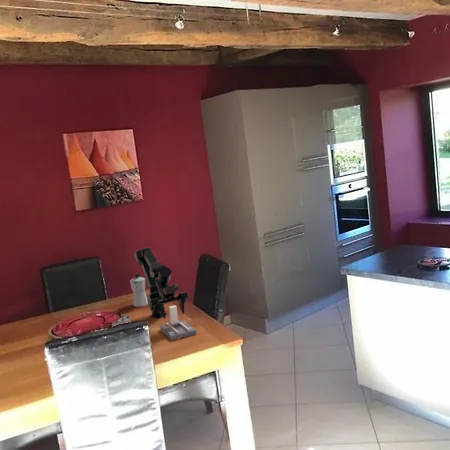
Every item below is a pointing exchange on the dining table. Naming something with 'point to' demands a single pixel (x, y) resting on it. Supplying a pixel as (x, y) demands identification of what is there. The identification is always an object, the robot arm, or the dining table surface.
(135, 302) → the coffee maker
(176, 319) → the fader
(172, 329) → the grey slider track base
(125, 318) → the food container
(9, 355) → the dining table surface
